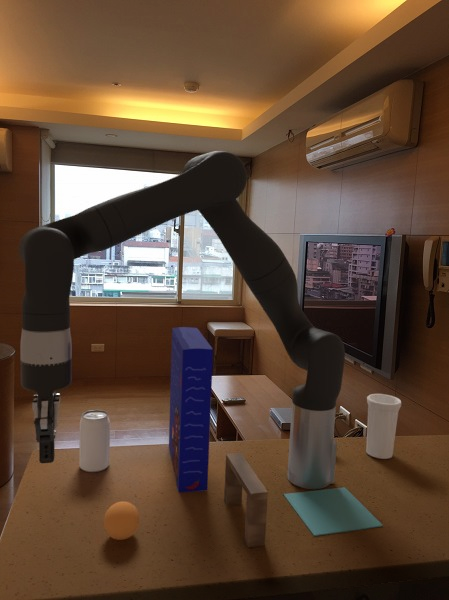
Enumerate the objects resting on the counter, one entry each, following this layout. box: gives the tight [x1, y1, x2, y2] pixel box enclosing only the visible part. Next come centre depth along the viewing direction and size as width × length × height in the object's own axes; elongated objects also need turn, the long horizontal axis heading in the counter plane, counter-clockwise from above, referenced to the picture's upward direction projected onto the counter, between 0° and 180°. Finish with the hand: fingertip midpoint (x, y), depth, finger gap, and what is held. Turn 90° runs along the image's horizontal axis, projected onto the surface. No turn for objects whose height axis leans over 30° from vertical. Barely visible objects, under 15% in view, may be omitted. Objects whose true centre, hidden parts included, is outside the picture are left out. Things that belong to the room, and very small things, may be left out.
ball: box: [103, 501, 140, 541], centre depth 83 cm, size 6×6×6 cm
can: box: [78, 409, 111, 473], centre depth 108 cm, size 6×6×12 cm
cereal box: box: [168, 326, 214, 493], centre depth 108 cm, size 22×6×30 cm, turn 12°
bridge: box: [223, 452, 269, 548], centre depth 89 cm, size 3×15×10 cm, turn 16°
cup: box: [365, 393, 402, 460], centre depth 120 cm, size 8×8×14 cm
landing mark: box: [283, 486, 384, 537], centre depth 95 cm, size 14×14×1 cm
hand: (47, 460), depth 79 cm, fingers closed
